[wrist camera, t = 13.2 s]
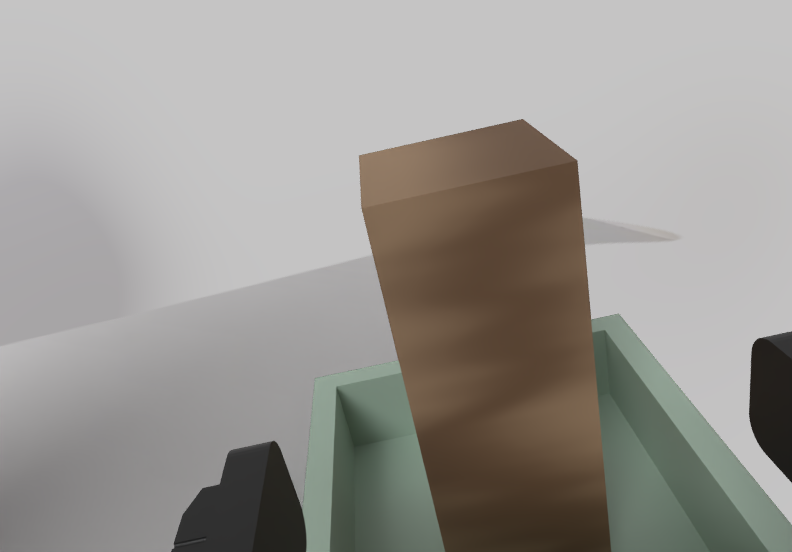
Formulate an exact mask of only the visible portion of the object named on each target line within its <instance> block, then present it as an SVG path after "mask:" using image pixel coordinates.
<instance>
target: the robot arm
mask: <svg viewBox="0 0 792 552" xmlns="http://www.w3.org/2000/svg"><path fill="white" fill-rule="evenodd" d="M750 382H751V383H750V408H749V417H750V423H751V427H752V430H753V433H754V436H755V438H756V440H757V442H758V443H759V445H760V447H761V448H762V450H763V451H764V452H765V453H766V455H767V456H768V457H769V458H770V459H771V460H772V461H773V462H774V464H775V465H776V466H777V467H778V468H779V469H780V470H781V471H782V472H783V474H785V476H786V477H787V478H788V479H789V480H790V481H791V482H792V332H787V333H782V334H778V335H773V336H769V337H764V338H759V339H757V340H756V341H755V342H754V344H753V347H752V355H751V380H750ZM306 549H307V538H306V527H305V521H304V516H303V512H302V508H301V505H300V502H299V500H298V497H297V494H296V491H295V488H294V486H293V483H292V480H291V477H290V475H289V472H288V469H287V466H286V464H285V461H284V458H283V455H282V452H281V450H280V448H279V446H278V444H277V443H276V442H275V441H272V442H267V443H262V444H258V445H253V446H248V447H244V448H239V449H234V450H231V451H230V452H229V453H228V455H227V459H226V462H225V466H224V470H223V474H222V478H221V482H220V485H216V486H211V487H206V488H202V490H201V491H200V492H199V494H198V495H197V496H196V498H195V499H194V501H193V502H192V503H191V505H190V506H189V507H188V509H187V510H186V511H185V513H184V514H183V516H182V519H181V522H180V525H179V528H178V532H177V535H176V538H175V541H174V549H172V551H171V552H306Z"/></svg>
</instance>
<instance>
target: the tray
mask: <svg viewBox="0 0 792 552" xmlns="http://www.w3.org/2000/svg"><path fill="white" fill-rule="evenodd" d="M591 324H592V336H593V347H594V358H595V370H596V381H597V393H598V404H599V416H600V427H601V439H602V450H603V462H604V473H605V485H606V496H607V508H608V519H609V531H610V542H611V552H792V525H791V524H790V522H789V521H788V520H787V519H786V517H785V516H784V515H783V514H782V513H781V511H780V510H779V509H778V508H777V506H776V505H775V504H774V503H773V502H772V500H771V499H770V498H769V497H768V495H767V494H766V493H765V492H764V490H763V489H762V488H761V487H760V486H759V484H758V483H757V482H756V481H755V479H754V478H753V477H752V476H751V475H750V473H749V472H748V471H747V470H746V468H745V467H744V466H743V465H742V464H741V463H740V461H739V460H738V459H737V457H736V456H735V455H734V454H733V453H732V451H731V450H730V449H729V448H728V446H727V445H726V444H725V443H724V442H723V440H722V439H721V438H720V437H719V435H718V434H717V433H716V432H715V431H714V429H713V428H712V427H711V426H710V425H709V423H708V422H707V421H706V420H705V418H704V417H703V416H702V415H701V414H700V412H699V411H698V410H697V409H696V407H695V406H694V405H693V404H692V403H691V401H690V400H689V399H688V398H687V397H686V396H685V394H684V393H683V392H682V390H681V389H680V388H679V387H678V385H677V384H676V383H675V382H674V381H673V379H672V378H671V377H670V376H669V374H668V373H667V372H666V371H665V370H664V368H663V367H662V366H661V365H660V364H659V362H658V361H657V360H656V359H655V357H654V356H653V355H652V354H651V353H650V351H649V350H648V349H647V348H646V346H645V345H644V344H643V343H642V342H641V340H640V339H639V338H638V337H637V335H636V334H635V333H634V332H633V330H632V329H631V328H630V327H629V326H628V324H627V323H626V322H625V321H624V320H623V318H622V317H621V316H620V315H619V314H615V315H611V316H606V317H602V318H597V319H592V320H591ZM302 512H303V516H304V521H305V527H306V538H307V549H306V552H445V549H444V545H443V541H442V537H441V533H440V528H439V524H438V520H437V516H436V512H435V508H434V504H433V500H432V496H431V491H430V487H429V483H428V479H427V475H426V471H425V467H424V463H423V459H422V454H421V450H420V446H419V442H418V438H417V434H416V430H415V426H414V422H413V417H412V413H411V409H410V405H409V401H408V397H407V393H406V389H405V385H404V380H403V376H402V372H401V368H400V364H399V361H394V362H389V363H385V364H380V365H375V366H370V367H366V368H361V369H356V370H352V371H347V372H342V373H337V374H333V375H328V376H323V377H319V378H315V383H314V393H313V404H312V414H311V425H310V435H309V446H308V456H307V467H306V477H305V488H304V498H303V509H302Z"/></svg>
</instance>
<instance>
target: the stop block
mask: <svg viewBox="0 0 792 552" xmlns="http://www.w3.org/2000/svg"><path fill="white" fill-rule="evenodd" d="M359 162H360V185H361V206H362V212H363V216H364V220H365V224H366V228H367V233H368V237H369V241H370V245H371V249H372V253H373V257H374V261H375V265H376V270H377V274H378V278H379V282H380V286H381V290H382V294H383V298H384V302H385V307H386V311H387V315H388V319H389V323H390V327H391V331H392V335H393V339H394V344H395V348H396V352H397V356H398V360H399V364H400V368H401V372H402V376H403V380H404V385H405V389H406V393H407V397H408V401H409V405H410V409H411V413H412V417H413V422H414V426H415V430H416V434H417V438H418V442H419V446H420V450H421V454H422V459H423V463H424V467H425V471H426V475H427V479H428V483H429V487H430V491H431V496H432V500H433V504H434V508H435V512H436V516H437V520H438V524H439V528H440V533H441V537H442V541H443V545H444V549H445V552H611V542H610V531H609V519H608V508H607V496H606V485H605V473H604V462H603V450H602V439H601V427H600V416H599V404H598V393H597V381H596V370H595V358H594V347H593V336H592V324H591V313H590V302H589V290H588V278H587V267H586V255H585V244H584V232H583V221H582V210H581V198H580V186H579V175H578V164H577V160H576V159H574V158H573V157H572V156H570V155H569V154H568V153H567V152H565V151H564V150H563V149H561V148H560V147H559V146H557V145H556V144H555V143H553V142H552V141H551V140H549V139H548V138H547V137H546V136H544V135H543V134H542V133H540V132H539V131H538V130H536V129H535V128H534V127H532V126H531V125H530V124H529V123H527V122H526V121H524V120H523V119H521V120H517V121H512V122H508V123H503V124H499V125H494V126H490V127H485V128H481V129H476V130H472V131H467V132H463V133H458V134H454V135H449V136H445V137H440V138H436V139H431V140H427V141H422V142H418V143H414V144H409V145H404V146H400V147H395V148H391V149H386V150H382V151H377V152H373V153H368V154H364V155H360V156H359Z"/></svg>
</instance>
